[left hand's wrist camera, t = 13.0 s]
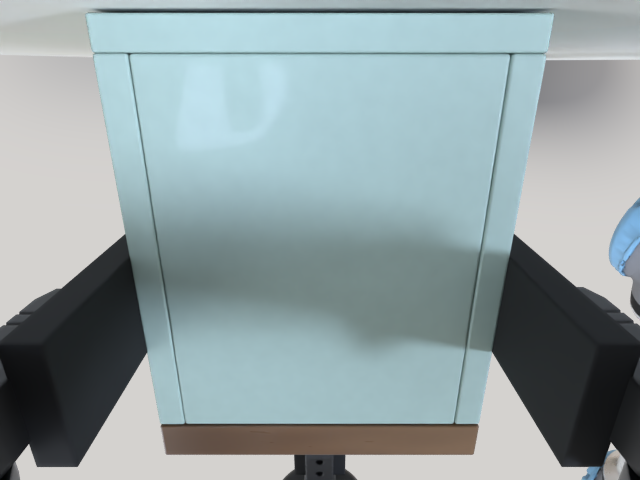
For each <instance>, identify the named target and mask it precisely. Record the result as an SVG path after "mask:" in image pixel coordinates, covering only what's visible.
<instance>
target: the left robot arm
mask: <svg viewBox="0 0 640 480" xmlns="http://www.w3.org/2000/svg"><path fill="white" fill-rule="evenodd" d="M492 352H493V354H494V356H495V357H496V359H497V361H498V362H499V364H500V366H501V367H502V369H503V371H504V372H505V374H506V376H507V377H508V379H509V380H510V382H511V384H512V385H513V387H514V389H515V390H516V392H517V394H518V395H519V397H520V399H521V400H522V402H523V404H524V405H525V407H526V408H527V410H528V412H529V413H530V415H531V417H532V418H533V420H534V422H535V423H536V425H537V427H538V428H539V430H540V432H541V433H542V435H543V437H544V438H545V440H546V441H547V443H548V445H549V446H550V448H551V450H552V451H553V453H554V455H555V456H556V458H557V460H558V461H559V463H560V465H561V466H562V467H602V466H603V463H604V461H605V458H606V455H607V452H608V449H609V446H610V443H611V442H612V444H613V445H614V446H615V448H616V449H617V450H618V451H619V453H620V454H621V455H622V457H623V458H624V459H625V462H624V465H623V468H622V471H621V473H620V476H619V479H618V480H640V326H639V325H638V324H634V323H633V320H632V319H631V318H629V317H628V316H627V315H626V314H624V313H621V312H620V310H619V309H618V308H617V307H616V306H614V305H613V304H612V303H611V302H609V301H608V300H607V299H606V298H604V297H602V296H600V295H598V294H596V293H594V292H592V291H590V290H588V289H586V288H584V287H575V286H574V285H573V284H572V283H571V282H570V281H568V280H567V279H566V278H565V277H564V276H563V275H561V274H560V273H559V272H558V271H557V270H556V269H554V268H553V267H552V266H551V265H550V264H549V263H547V262H546V261H545V260H544V259H543V258H542V257H540V256H539V255H538V254H537V253H536V252H534V251H533V250H532V249H531V248H530V247H529V246H527V245H526V244H525V243H524V242H523V241H522V240H520V239H519V238H518V237H517V236H516V235H515V234H514V235H513V240H512V246H511V251H510V257H509V262H508V267H507V273H506V278H505V284H504V289H503V294H502V300H501V305H500V311H499V316H498V322H497V327H496V333H495V338H494V344H493V349H492ZM146 353H147V347H146V342H145V336H144V331H143V325H142V320H141V314H140V309H139V304H138V298H137V293H136V287H135V282H134V276H133V271H132V265H131V260H130V256H129V250H128V245H127V239H126V234H125V235H124V236H122V237H121V238H120V239H119V240H118V241H117V242H116V243H114V244H113V245H112V246H111V247H110V248H108V249H107V250H106V251H105V252H104V253H103V254H101V255H100V256H99V257H98V258H97V259H96V260H94V261H93V262H92V263H91V264H90V265H89V266H87V267H86V268H85V269H84V270H83V271H82V272H80V273H79V274H78V275H77V276H76V277H74V278H73V279H72V280H71V281H70V282H69V283H67V284H66V285H65V286H64V287H63V288H62V289H55V290H53V291H51V292H49V293H47V294H45V295H43V296H41V297H39V298H37V299H35V300H34V301H32V302H31V303H30V304H29V305H28V306H26V307H25V308H24V309H23V310H21V311H20V313H19V315H15V316H14V317H13V318H12V319H10V320H9V321H8V322H7V323H6V325H3V326H2V327H0V480H20V476H19V471H18V468H17V465H16V462H15V461H16V460H17V458H18V457H19V456H20V455H21V453H22V452H23V451H24V449H25V448H26V447H27V446H28V444H29V445H30V447H31V451H32V454H33V456H34V459H35V462H36V465H37V467H78V465H79V464H80V462H81V460H82V459H83V457H84V455H85V454H86V452H87V451H88V449H89V447H90V446H91V444H92V442H93V441H94V439H95V437H96V436H97V434H98V432H99V431H100V429H101V427H102V426H103V424H104V423H105V421H106V419H107V418H108V416H109V414H110V413H111V411H112V409H113V408H114V406H115V404H116V403H117V401H118V399H119V398H120V396H121V394H122V393H123V391H124V390H125V388H126V386H127V385H128V383H129V381H130V380H131V378H132V376H133V375H134V373H135V371H136V370H137V368H138V366H139V365H140V363H141V361H142V360H143V358H144V357H145V355H146Z"/></svg>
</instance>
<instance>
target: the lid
mask: <svg viewBox="0 0 640 480" xmlns="http://www.w3.org/2000/svg"><path fill="white" fill-rule="evenodd" d="M478 428H479V426H478V424H456V423H455V422H453V423H452V424H188V423H186V421H185V423H184V424H162V425H161V431H162V437H163V442H164V447H165V453H166V454H167V455H472V454H474V449H475V444H476V438H477V433H478Z"/></svg>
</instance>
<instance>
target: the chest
mask: <svg viewBox="0 0 640 480" xmlns="http://www.w3.org/2000/svg"><path fill="white" fill-rule="evenodd" d="M553 19H554V14H552V13H87V14H86V22H87V27H88V33H89V38H90V44H91V49H92V51H93V52H94V53H95V54H93V59H94V65H95V70H96V76H97V81H98V87H99V92H100V98H101V103H102V108H103V114H104V119H105V125H106V130H107V136H108V141H109V146H110V152H111V157H112V163H113V168H114V174H115V179H116V185H117V190H118V196H119V201H120V207H121V212H122V217H123V223H124V228H125V234H126V239H127V245H128V250H129V256H130V260H131V265H132V271H133V276H134V282H135V287H136V293H137V298H138V304H139V309H140V314H141V320H142V325H143V331H144V336H145V342H146V347H147V354H148V359H149V364H150V370H151V376H152V381H153V386H154V392H155V397H156V403H157V408H158V414H159V419H160V423H161V424H184V423H185V421H186V423H188V424H452V423H453V422H455V423H456V424H478V423H479V420H480V414H481V409H482V403H483V398H484V393H485V387H486V382H487V377H488V371H489V366H490V360H491V355H492V349H493V344H494V338H495V333H496V327H497V322H498V316H499V311H500V305H501V300H502V294H503V289H504V284H505V278H506V273H507V267H508V262H509V257H510V251H511V246H512V240H513V235H514V229H515V224H516V219H517V213H518V208H519V202H520V197H521V191H522V186H523V181H524V175H525V170H526V164H527V159H528V153H529V148H530V142H531V137H532V131H533V126H534V121H535V115H536V110H537V104H538V99H539V93H540V88H541V83H542V77H543V72H544V66H545V61H546V55H545V54H543V53H546V52H547V51H548V47H549V41H550V36H551V30H552V25H553Z"/></svg>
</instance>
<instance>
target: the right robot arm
mask: <svg viewBox="0 0 640 480" xmlns="http://www.w3.org/2000/svg"><path fill="white" fill-rule="evenodd" d="M609 259H610V263H611V265H612V266H613V267H615V269H616V270H617V271H619V273H620V274H621V275H623V276H628V277H631V278H632V279H633V286H632V291H631V299H630V305H631V309H632V311H633V313H634V314H635V315H636V317H637V318H638V319H639V320H640V198H639V199H638V200H637V201H636V202H635V203H634V205H633V206H632V207H631V208H629V209H628V211H627V212H626V213H625V215H624V216H623V217H622V219H621V220H620V222H619V224H618V226H617V227H616V229H615V231H614V234H613V236H612V239H611V243H610V247H609ZM294 460H295V469H294V470H293V471H292V472H290V473H289V474H288V475H287V476H286V477H285V478H284V479H283V480H357V479H356V478H355V477H354V476H353V475H352V474H351V473H350V472H349V471H347V470H346V469H345V455H294ZM624 462H625V459H624V458H623V457H622V455H621V454H620V453H619V451H618V450H612V451H608V452H607V455H606V458H605V461H604V463H603V466H602V467H589V468H588V469H587V472H588V473H587V475H586V476H583V478H582V480H618V479H619V476H620V473H621V471H622V468H623V465H624Z"/></svg>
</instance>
